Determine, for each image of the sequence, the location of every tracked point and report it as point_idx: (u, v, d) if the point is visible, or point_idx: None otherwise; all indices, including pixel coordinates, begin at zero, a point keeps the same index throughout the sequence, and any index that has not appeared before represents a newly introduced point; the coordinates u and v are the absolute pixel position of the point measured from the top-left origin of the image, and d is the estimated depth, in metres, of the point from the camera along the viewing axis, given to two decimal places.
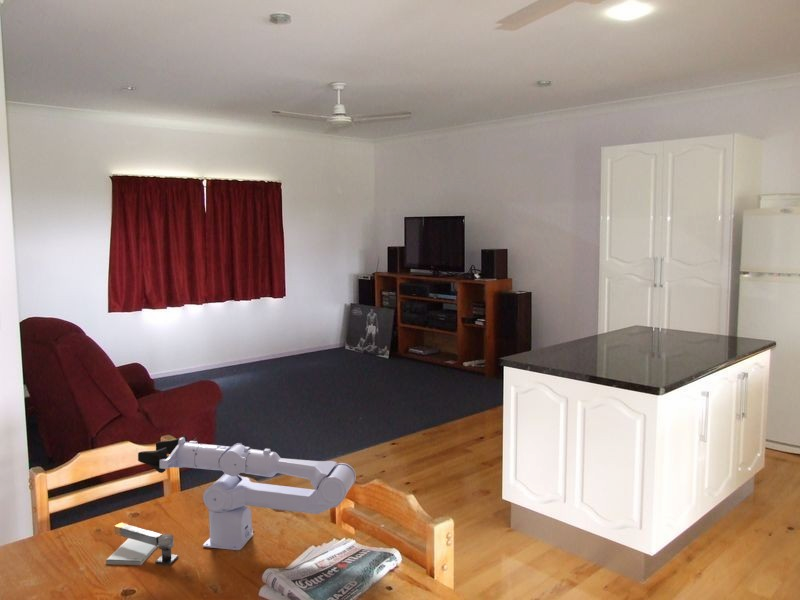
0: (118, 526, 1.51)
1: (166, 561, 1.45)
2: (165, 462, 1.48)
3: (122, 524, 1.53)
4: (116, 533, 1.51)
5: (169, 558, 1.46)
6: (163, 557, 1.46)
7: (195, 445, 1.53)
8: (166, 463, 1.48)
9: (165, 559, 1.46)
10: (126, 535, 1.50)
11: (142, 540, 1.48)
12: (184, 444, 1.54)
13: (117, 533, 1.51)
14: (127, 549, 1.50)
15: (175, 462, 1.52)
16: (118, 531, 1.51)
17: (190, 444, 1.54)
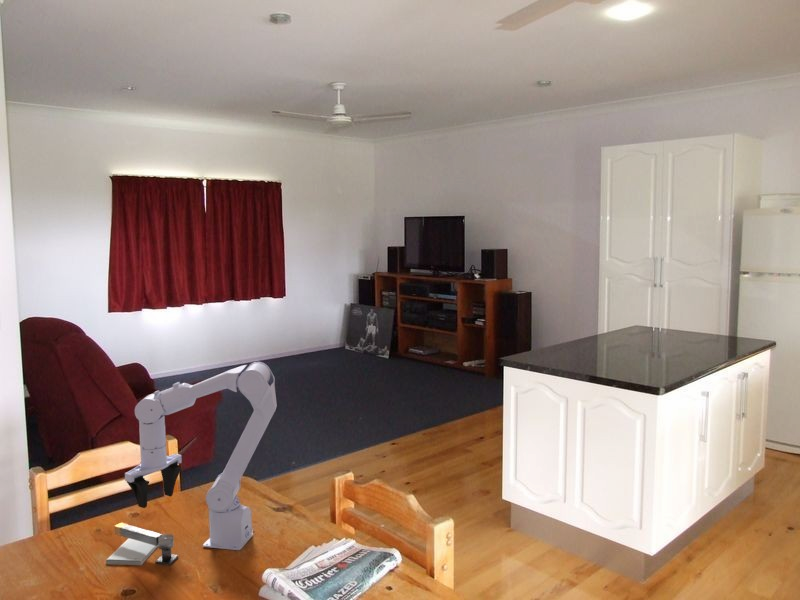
0: (118, 526, 1.51)
1: (166, 561, 1.45)
2: (125, 475, 1.47)
3: (122, 524, 1.53)
4: (116, 533, 1.51)
5: (169, 558, 1.46)
6: (163, 557, 1.46)
7: None
8: (126, 474, 1.47)
9: (165, 559, 1.46)
10: (126, 535, 1.50)
11: (142, 540, 1.48)
12: None
13: (117, 533, 1.51)
14: (128, 549, 1.50)
15: (146, 469, 1.50)
16: (118, 531, 1.51)
17: None
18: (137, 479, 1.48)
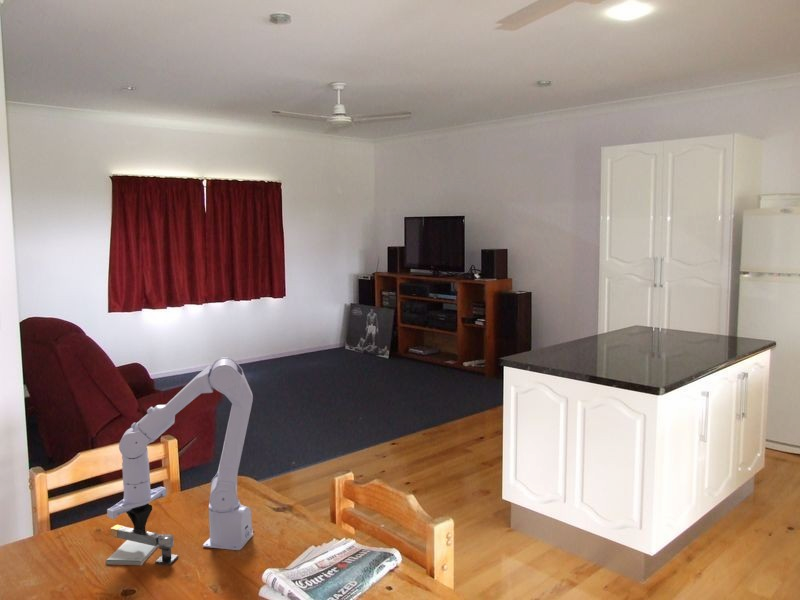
0: (114, 528, 1.50)
1: (166, 561, 1.45)
2: (108, 511, 1.44)
3: (118, 526, 1.52)
4: (112, 535, 1.50)
5: (169, 558, 1.46)
6: (163, 557, 1.46)
7: None
8: (109, 510, 1.44)
9: (165, 559, 1.46)
10: (123, 537, 1.49)
11: (141, 541, 1.48)
12: None
13: (113, 535, 1.50)
14: (128, 549, 1.50)
15: (129, 505, 1.47)
16: (115, 534, 1.50)
17: None
18: (135, 508, 1.48)
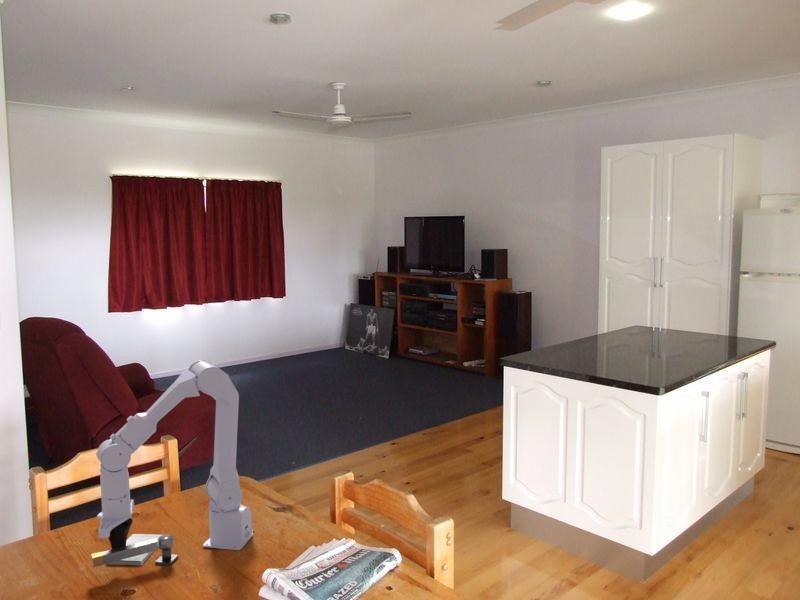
0: (97, 556, 1.38)
1: (166, 561, 1.45)
2: (100, 531, 1.34)
3: (96, 553, 1.39)
4: (96, 565, 1.38)
5: (169, 558, 1.46)
6: (163, 557, 1.46)
7: None
8: (101, 530, 1.34)
9: (165, 559, 1.46)
10: (112, 560, 1.39)
11: (137, 554, 1.42)
12: None
13: (97, 564, 1.38)
14: None
15: (115, 521, 1.39)
16: (100, 561, 1.38)
17: None
18: (118, 524, 1.40)
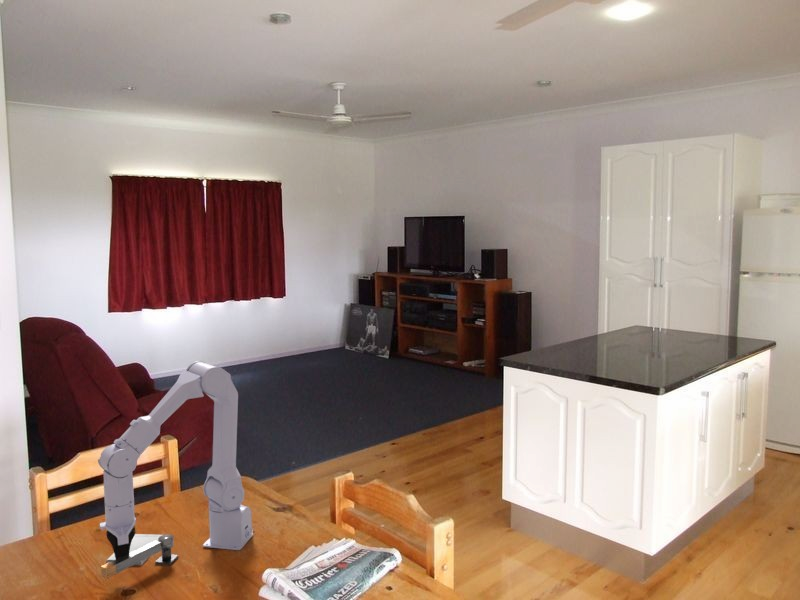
0: (110, 566, 1.34)
1: (166, 561, 1.45)
2: (120, 538, 1.31)
3: (106, 564, 1.34)
4: (110, 575, 1.33)
5: (169, 558, 1.46)
6: (163, 557, 1.46)
7: (105, 508, 1.36)
8: (121, 536, 1.32)
9: (165, 559, 1.46)
10: (123, 567, 1.36)
11: (144, 557, 1.40)
12: (106, 521, 1.36)
13: (111, 574, 1.34)
14: None
15: (126, 527, 1.36)
16: (113, 571, 1.34)
17: (105, 514, 1.36)
18: None
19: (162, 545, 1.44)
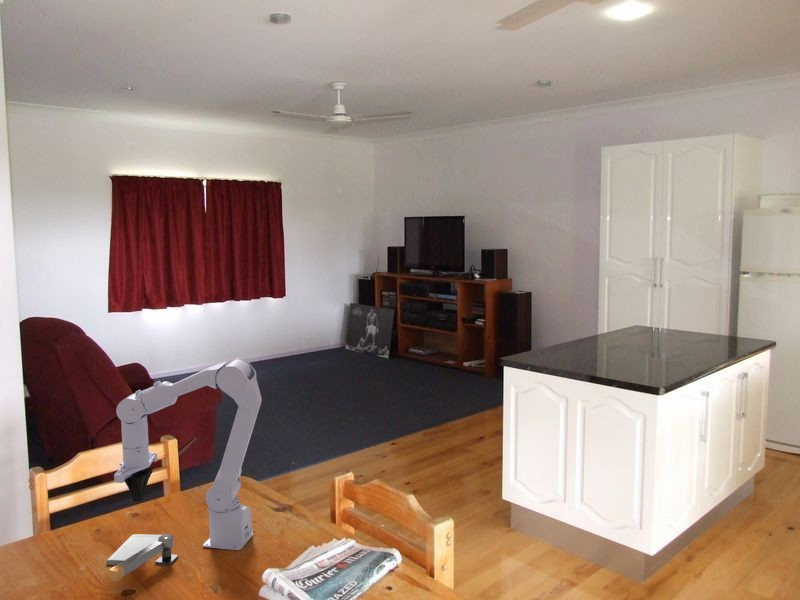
0: (119, 569, 1.33)
1: (166, 561, 1.45)
2: (115, 476, 1.46)
3: (114, 567, 1.33)
4: (118, 578, 1.32)
5: (169, 558, 1.46)
6: (163, 557, 1.46)
7: None
8: (116, 475, 1.46)
9: (165, 559, 1.46)
10: (130, 569, 1.35)
11: (148, 558, 1.40)
12: None
13: (120, 577, 1.33)
14: (128, 549, 1.50)
15: (132, 469, 1.50)
16: (122, 573, 1.33)
17: None
18: (135, 473, 1.51)
19: (163, 545, 1.44)
